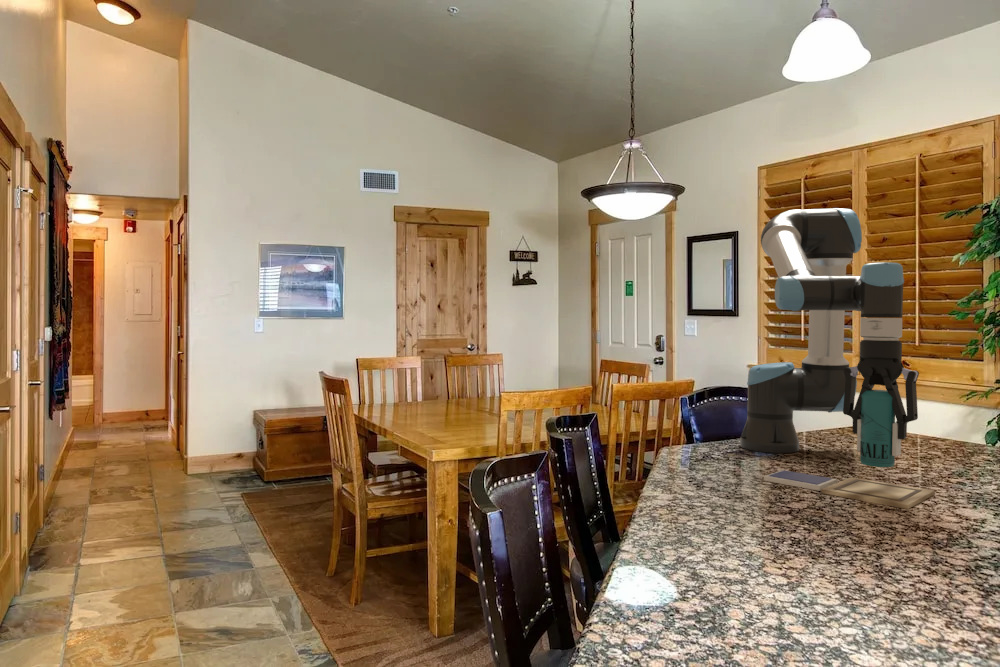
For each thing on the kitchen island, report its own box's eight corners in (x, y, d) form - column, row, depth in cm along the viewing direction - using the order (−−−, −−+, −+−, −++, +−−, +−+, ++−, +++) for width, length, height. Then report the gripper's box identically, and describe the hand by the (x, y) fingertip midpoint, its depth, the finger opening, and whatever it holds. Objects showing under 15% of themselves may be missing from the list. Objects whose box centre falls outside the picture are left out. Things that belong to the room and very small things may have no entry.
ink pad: (763, 480, 154) (764, 475, 154) (782, 474, 160) (782, 469, 160) (819, 490, 145) (819, 485, 145) (836, 483, 151) (837, 478, 151)
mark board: (821, 492, 143) (821, 488, 143) (851, 480, 154) (851, 476, 154) (908, 509, 131) (908, 504, 131) (934, 494, 142) (934, 490, 142)
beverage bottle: (886, 468, 146) (888, 372, 145) (901, 475, 139) (903, 375, 139) (853, 467, 146) (855, 372, 146) (867, 474, 140) (869, 374, 139)
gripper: (825, 338, 146) (823, 448, 147) (927, 340, 132) (925, 462, 133) (839, 337, 151) (837, 444, 152) (939, 340, 138) (937, 457, 138)
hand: (878, 452), depth 142 cm, fingers closed on beverage bottle, 6 cm apart
